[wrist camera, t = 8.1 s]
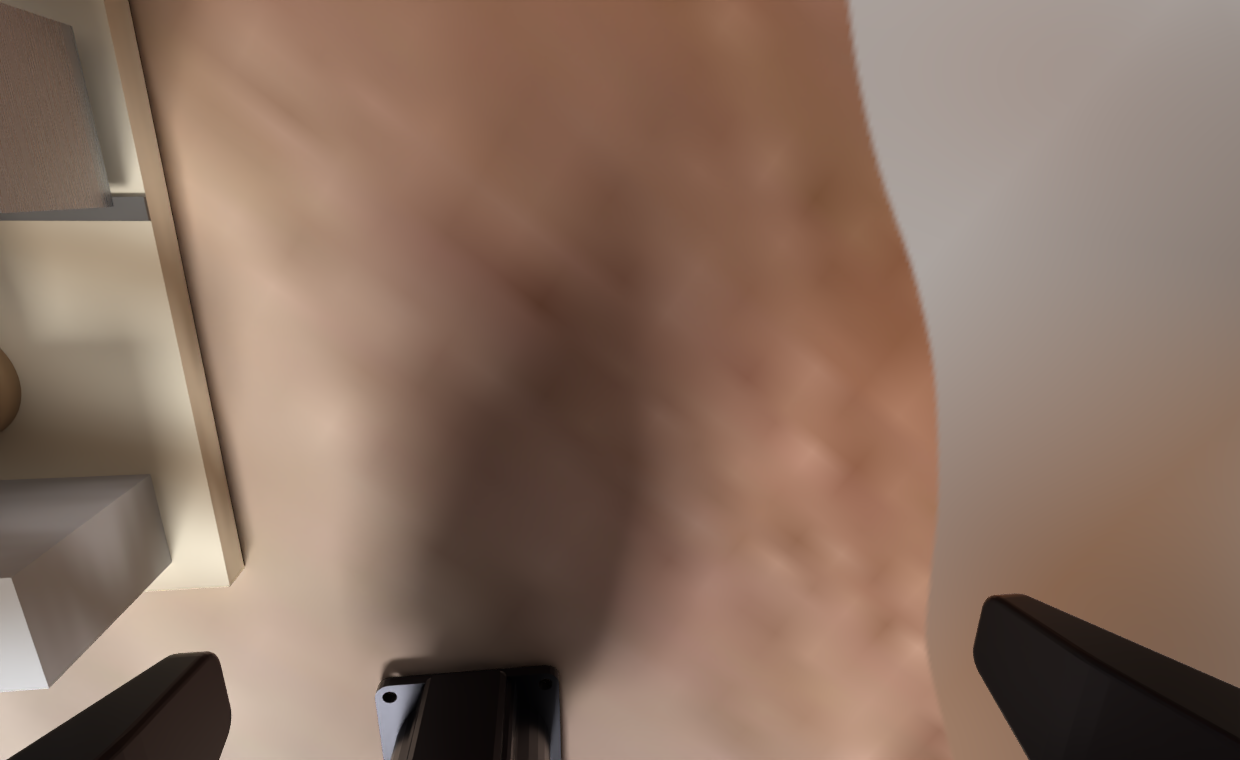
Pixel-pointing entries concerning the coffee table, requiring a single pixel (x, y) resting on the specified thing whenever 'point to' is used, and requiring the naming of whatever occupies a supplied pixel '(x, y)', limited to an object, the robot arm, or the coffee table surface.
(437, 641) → the coffee table surface
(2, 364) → the tan rounded knob
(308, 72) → the coffee table surface
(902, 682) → the coffee table surface
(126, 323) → the press base
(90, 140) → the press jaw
